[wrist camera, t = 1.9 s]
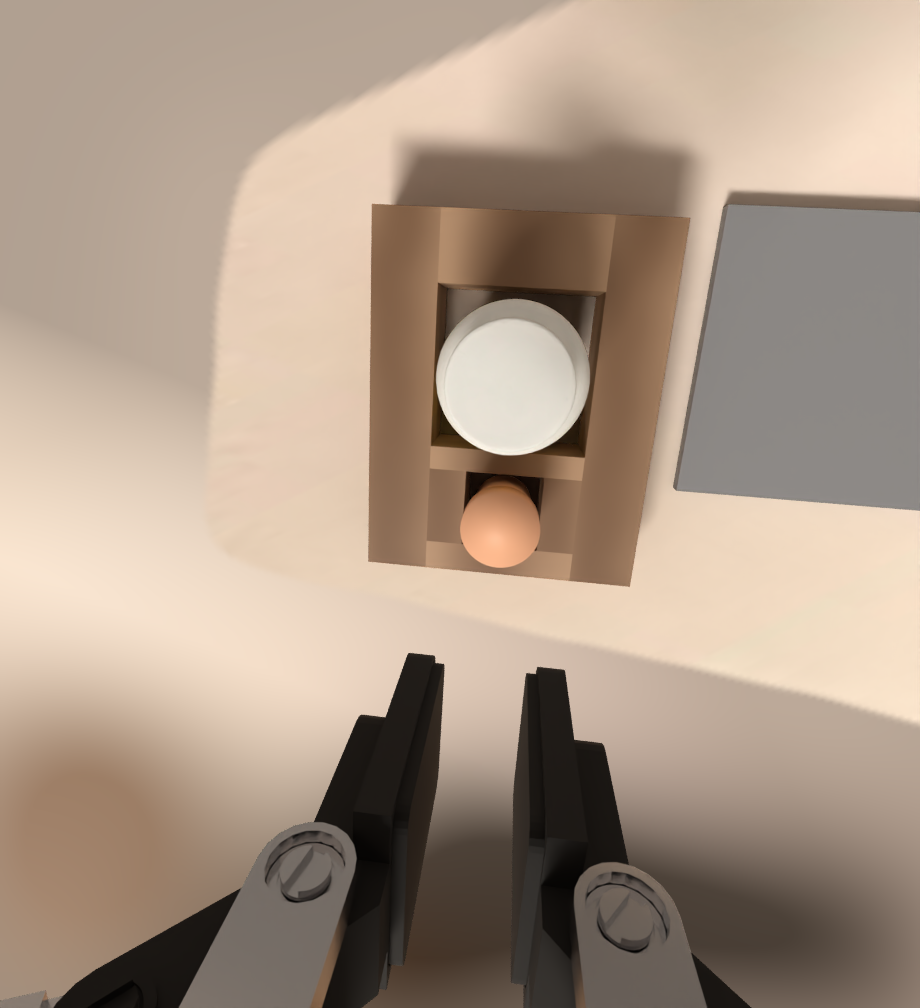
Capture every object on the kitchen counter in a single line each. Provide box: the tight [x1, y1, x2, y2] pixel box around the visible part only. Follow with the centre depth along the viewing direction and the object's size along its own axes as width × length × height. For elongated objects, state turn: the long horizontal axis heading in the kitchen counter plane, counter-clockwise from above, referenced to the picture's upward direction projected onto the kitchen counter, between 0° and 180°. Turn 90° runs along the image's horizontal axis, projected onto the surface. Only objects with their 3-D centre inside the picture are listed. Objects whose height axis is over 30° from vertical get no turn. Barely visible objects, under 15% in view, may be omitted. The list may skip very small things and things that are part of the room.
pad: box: [673, 204, 920, 511], centre depth 24 cm, size 12×12×1 cm
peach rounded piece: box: [460, 475, 540, 568], centre depth 24 cm, size 3×3×4 cm
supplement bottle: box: [436, 299, 590, 455], centre depth 21 cm, size 5×5×10 cm
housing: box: [368, 204, 690, 587], centre depth 25 cm, size 12×15×3 cm
